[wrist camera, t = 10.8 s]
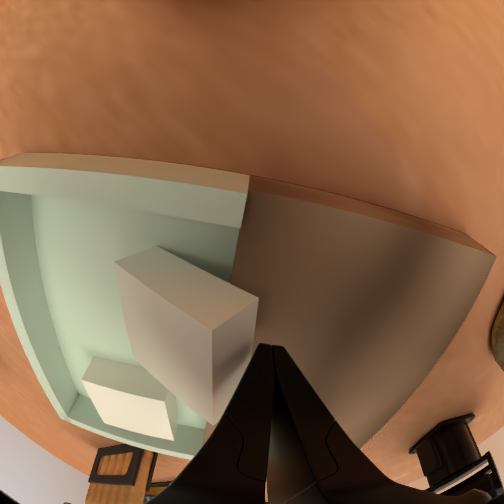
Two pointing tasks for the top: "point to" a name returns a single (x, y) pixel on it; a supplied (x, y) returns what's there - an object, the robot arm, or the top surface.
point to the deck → (354, 295)
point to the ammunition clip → (121, 475)
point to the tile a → (131, 398)
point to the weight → (499, 338)
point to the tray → (103, 263)
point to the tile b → (187, 327)
